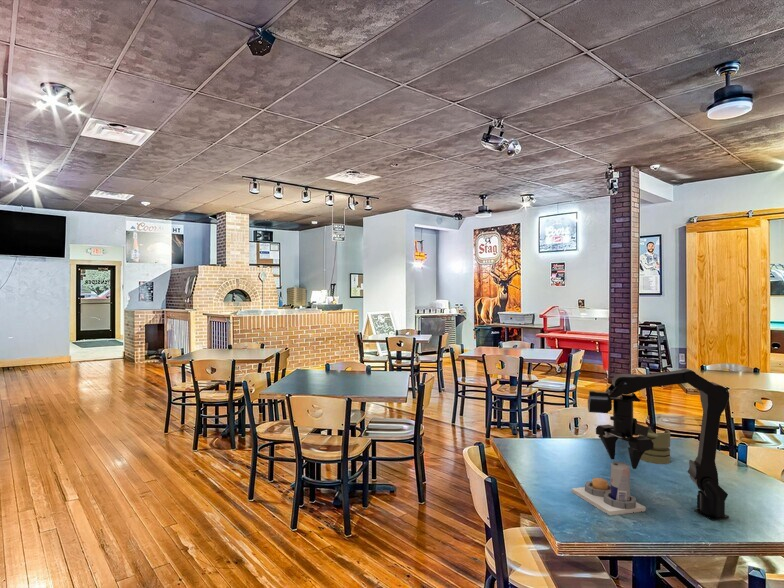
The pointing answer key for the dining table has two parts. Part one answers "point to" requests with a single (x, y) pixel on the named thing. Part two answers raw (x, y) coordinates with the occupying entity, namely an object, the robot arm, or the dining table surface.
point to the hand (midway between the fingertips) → (623, 463)
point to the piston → (658, 448)
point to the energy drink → (620, 481)
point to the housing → (606, 498)
